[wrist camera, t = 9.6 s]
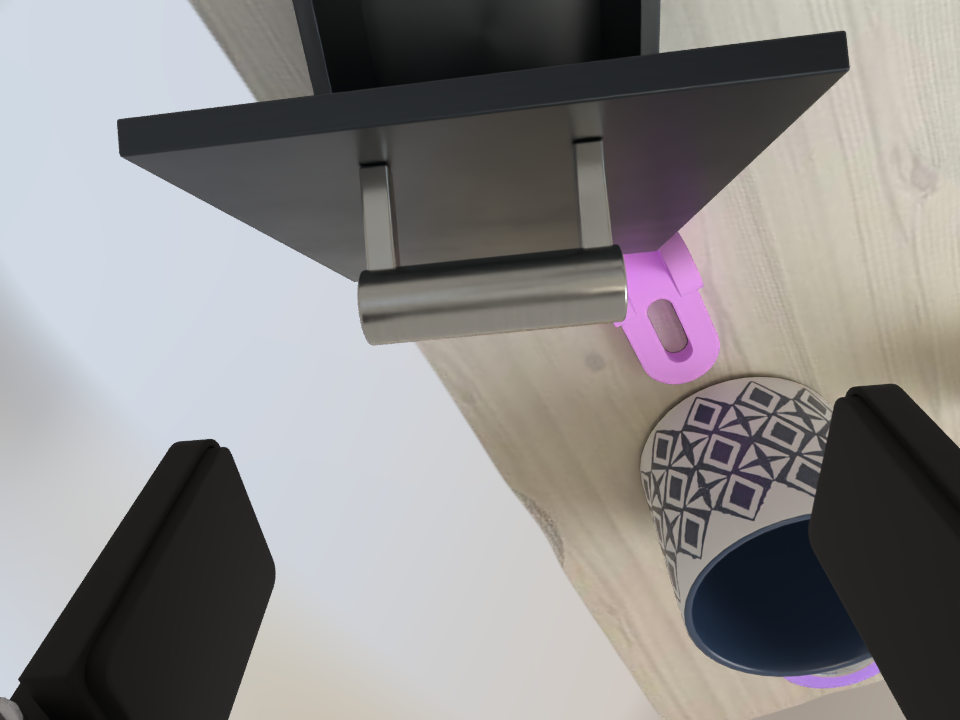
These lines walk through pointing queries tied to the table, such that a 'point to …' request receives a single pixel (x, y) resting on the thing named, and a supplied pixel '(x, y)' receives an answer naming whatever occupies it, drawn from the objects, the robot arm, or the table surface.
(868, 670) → the tape roll
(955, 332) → the table surface
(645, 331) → the bracket
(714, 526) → the planter
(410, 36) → the black storage bin
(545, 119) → the bin lid
